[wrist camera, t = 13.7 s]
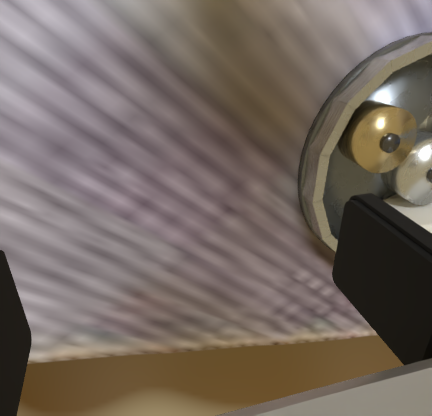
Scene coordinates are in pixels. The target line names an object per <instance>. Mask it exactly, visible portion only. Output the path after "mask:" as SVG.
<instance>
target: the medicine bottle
mask: <svg viewBox="0 0 432 416" xmlns="http://www.w3.org/2000/svg"><path fill="white" fill-rule="evenodd" d="M383 201H385V202H386V203H388V204H389V205H391V206H392V207H393V208H395V209H396V210H398V211H399V212H401V213H402V214H404V215H405V216H407V217H408V218H410V219H411V220H413V221H414V222H416V223H417V224H419V225H420V226H422V227H423V228H424V229H426V230H427V231H429V232H430V233H432V203H430V204H427V205H416V204H413V203H411V202H409V201H408V200H406V199H405V198H403V197H402V198H394V199H386V200H383Z"/></svg>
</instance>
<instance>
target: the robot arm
mask: <svg viewBox="0 0 432 416" xmlns="http://www.w3.org/2000/svg"><path fill="white" fill-rule="evenodd" d="M332 277H333V281H334V283H335V284H336V286H337V287H338V288H339V289H340V290H341V292H342V293H343V294H344V295H345V296H346V297H347V299H348V300H349V301H350V302H351V303H352V304H353V306H354V307H355V308H356V309H357V310H358V311H359V313H360V314H361V315H362V316H363V317H364V319H365V320H366V321H367V322H368V323H369V324H370V326H371V327H372V328H373V329H374V330H375V331H376V333H377V334H378V335H379V336H380V337H381V338H382V340H383V341H384V342H385V343H386V344H387V345H388V347H389V348H390V349H391V350H392V351H393V353H394V354H395V355H396V356H397V357H398V358H399V360H400V361H401V362H402V363H403V364H404V366H401V367H397V368H393V369H389V370H385V371H382V372H377V373H374V374H370V375H366V376H362V377H358V378H355V379H351V380H348V381H344V382H340V383H336V384H332V385H329V386H325V387H321V388H317V389H314V390H310V391H306V392H302V393H298V394H295V395H291V396H288V397H284V398H280V399H276V400H273V401H269V402H265V403H262V404H258V405H254V406H250V407H246V408H243V409H239V410H235V411H231V412H228V413H224V414H221V415H217V416H432V233H430V232H429V231H427V230H426V229H424V228H423V227H422V226H420V225H419V224H417V223H416V222H414V221H413V220H411V219H410V218H408V217H407V216H405V215H404V214H402V213H401V212H399V211H398V210H396V209H395V208H393V207H392V206H391V205H389V204H388V203H386V202H385V201H383V200H382V199H380V198H379V197H377V196H376V195H374V194H372V193H367V194H360V195H353V196H351V197H350V199H349V201H347V202H346V203H345V205H344V210H343V216H342V221H341V227H340V232H339V238H338V244H337V249H336V255H335V260H334V266H333V271H332ZM30 348H31V331H30V328H29V325H28V322H27V319H26V316H25V313H24V310H23V307H22V304H21V301H20V298H19V295H18V292H17V289H16V286H15V283H14V280H13V277H12V274H11V271H10V268H9V265H8V262H7V259H6V256H5V254H4V252H3V251H2V250H0V416H17V411H18V406H19V401H20V396H21V391H22V387H23V382H24V377H25V372H26V367H27V363H28V358H29V353H30Z"/></svg>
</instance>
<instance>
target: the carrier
mask: <svg viewBox="0 0 432 416" xmlns="http://www.w3.org/2000/svg"><path fill="white" fill-rule="evenodd" d="M298 192H299V200H300V205H301V209H302V212H303V215H304V217H305V220H306V222H307V223H308V225H309V227H310V228H311V230H312V231H313V233H314V234H315V235H316V236H317V237H318V238H319V239H320V240H321V241H322V242H323V243H324V244H325V245H326V246H328V247H329V248H330V249H332V250H333V251H335V252H336V249H337V244H338V238H339V232H340V227H341V221H342V216H343V210H344V205H345V203H346V202H347V201H349V199H350V197H351V196H353V195H360V194H367V193H372V194H374V195H376V196H377V197H379V198H380V199H382V200H386V199H394V198H402V197H403V198H405V199H406V200H408V201H409V202H411V203H413V204H416V205H427V204H430V203H432V32H430V33H421V34H417V35H412V36H408V37H405V38H403V39H400V40H398V41H395V42H393V43H390V44H389V45H387V46H385V47H383V48H382V49H380V50H378V51H376V52H375V53H373V54H372V55H371V56H369V57H368V58H366V59H365V60H364V61H362V62H361V63H360V64H359V65H358V66H356V67H355V68H354V69H353V70H352V71H351V72H350V73H349V74H348V75H347V76H346V77H345V78H344V79H343V80H342V81H341V82H340V84H339V85H338V86H337V87H336V88H335V89H334V90H333V92H332V93H331V95H330V96H329V97H328V99H327V100H326V102H325V103H324V104H323V106H322V108H321V110H320V111H319V113H318V115H317V117H316V118H315V120H314V122H313V124H312V127H311V129H310V131H309V133H308V136H307V138H306V142H305V145H304V148H303V151H302V155H301V160H300V166H299V175H298Z"/></svg>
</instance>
